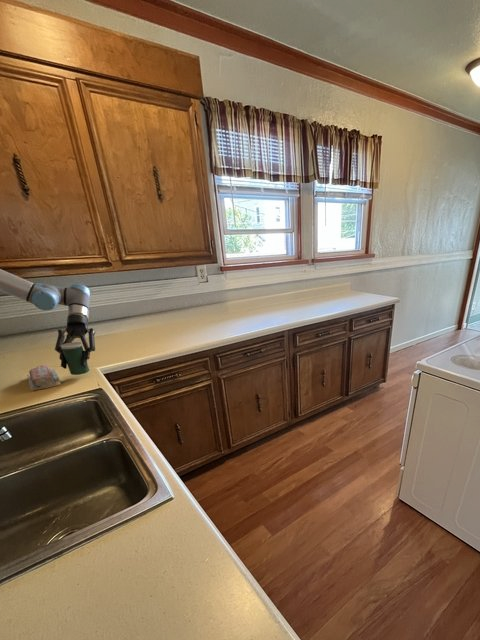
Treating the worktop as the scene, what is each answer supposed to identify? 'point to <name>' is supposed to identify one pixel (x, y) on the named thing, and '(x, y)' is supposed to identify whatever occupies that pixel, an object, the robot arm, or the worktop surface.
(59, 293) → the robot arm
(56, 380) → the packaged product
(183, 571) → the worktop surface
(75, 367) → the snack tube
